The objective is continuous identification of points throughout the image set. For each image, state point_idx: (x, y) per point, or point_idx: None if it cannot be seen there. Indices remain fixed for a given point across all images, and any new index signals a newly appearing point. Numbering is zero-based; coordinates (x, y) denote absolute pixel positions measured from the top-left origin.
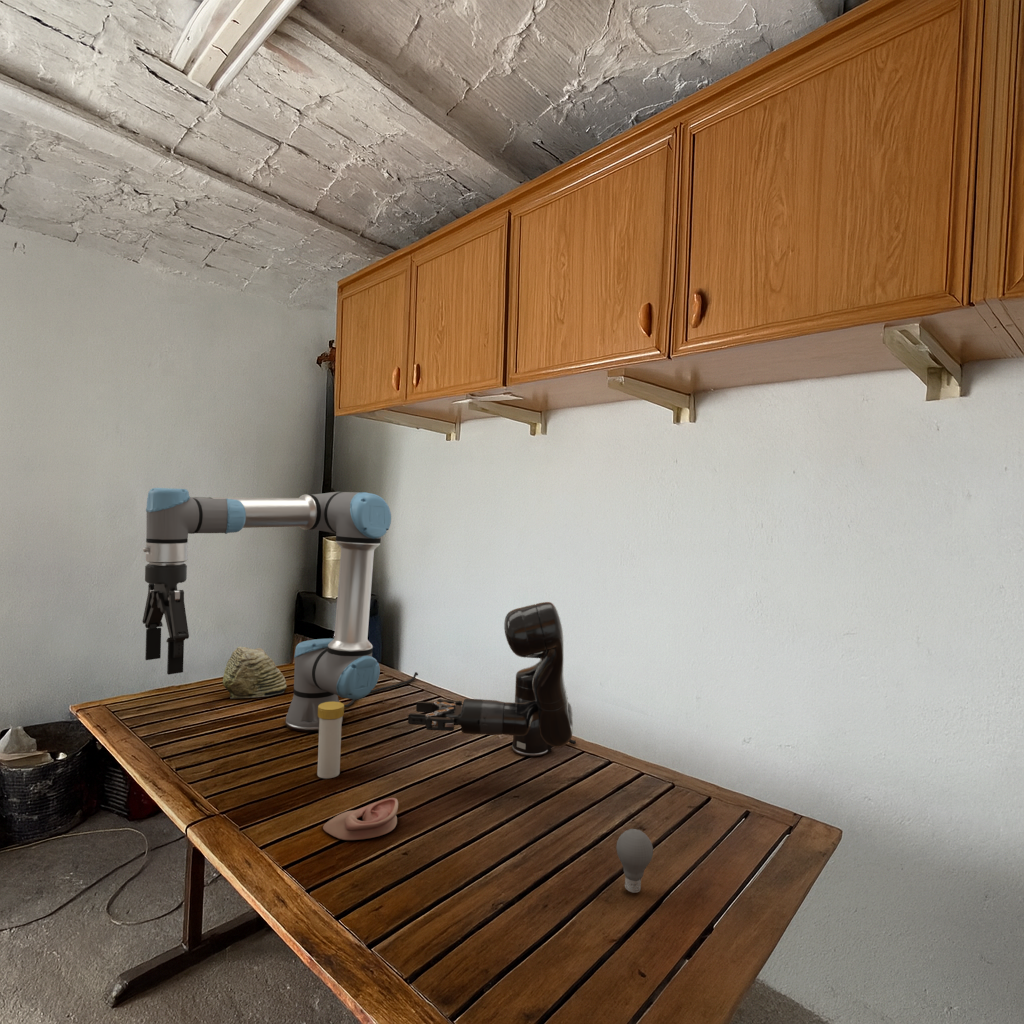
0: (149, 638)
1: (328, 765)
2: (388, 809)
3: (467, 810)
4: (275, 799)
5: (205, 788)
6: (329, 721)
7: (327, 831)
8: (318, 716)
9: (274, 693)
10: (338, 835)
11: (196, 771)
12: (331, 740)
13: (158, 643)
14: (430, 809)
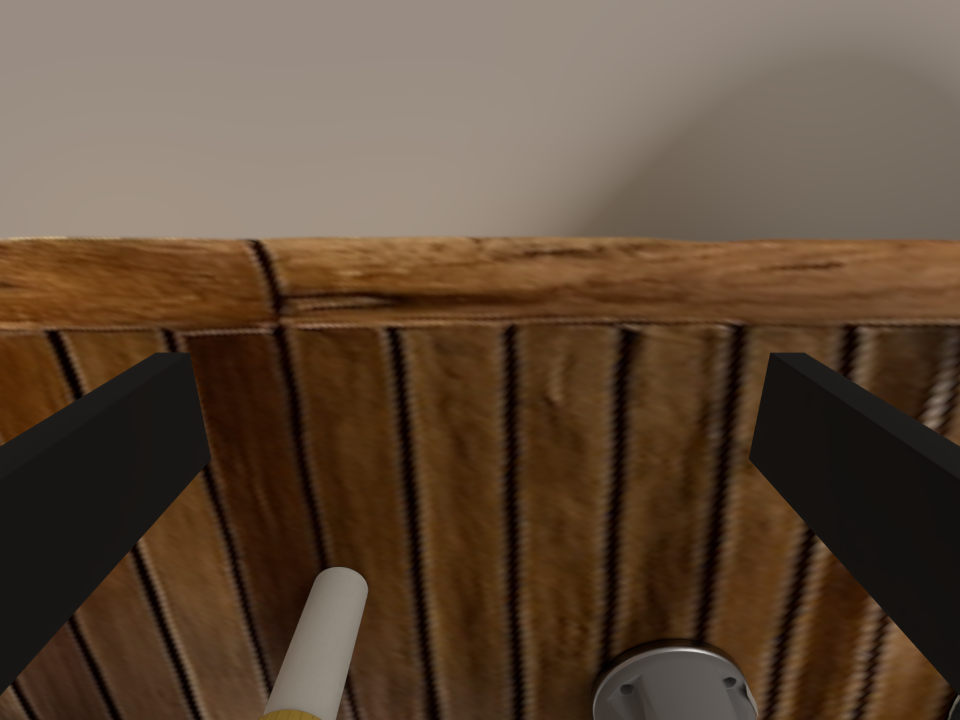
0: (925, 490)
1: (306, 602)
2: None
3: (17, 687)
4: (278, 449)
5: (448, 348)
6: (263, 715)
7: None
8: (296, 712)
9: (953, 715)
10: None
11: (575, 367)
12: (282, 664)
13: (839, 531)
14: (55, 646)
